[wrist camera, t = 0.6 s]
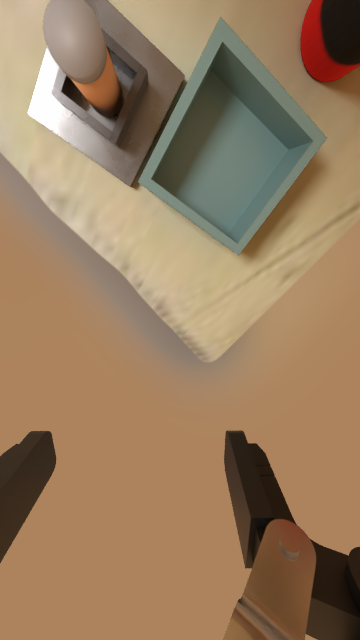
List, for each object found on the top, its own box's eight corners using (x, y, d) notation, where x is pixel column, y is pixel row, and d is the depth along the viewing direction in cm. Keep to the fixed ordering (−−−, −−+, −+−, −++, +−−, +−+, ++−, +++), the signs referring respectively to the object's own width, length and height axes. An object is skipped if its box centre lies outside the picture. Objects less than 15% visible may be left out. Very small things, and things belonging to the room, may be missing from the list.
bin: (141, 184, 29) (137, 182, 24) (207, 55, 24) (220, 16, 19) (226, 245, 34) (238, 255, 28) (296, 148, 29) (327, 137, 23)
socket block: (33, 117, 25) (11, 103, 22) (75, -24, 21) (57, -70, 17) (131, 186, 29) (126, 185, 26) (183, 80, 25) (187, 60, 21)
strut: (80, 100, 24) (35, 47, 15) (95, 58, 23) (55, -27, 14) (114, 126, 25) (89, 91, 17) (130, 88, 24) (112, 27, 15)
